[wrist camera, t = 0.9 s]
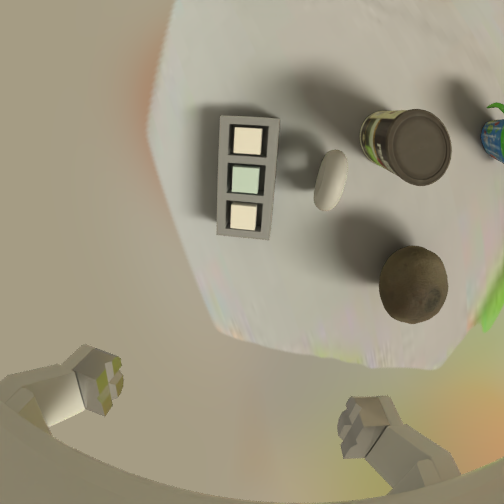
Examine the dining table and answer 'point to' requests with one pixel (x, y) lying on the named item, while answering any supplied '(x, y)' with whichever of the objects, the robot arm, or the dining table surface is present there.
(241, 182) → the key mid
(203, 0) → the dining table surface
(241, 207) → the key far
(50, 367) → the robot arm
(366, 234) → the dining table surface
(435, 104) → the dining table surface
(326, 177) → the donut
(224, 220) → the keypad
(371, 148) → the coffee can
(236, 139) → the key near
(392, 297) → the coconut
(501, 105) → the snack cup
